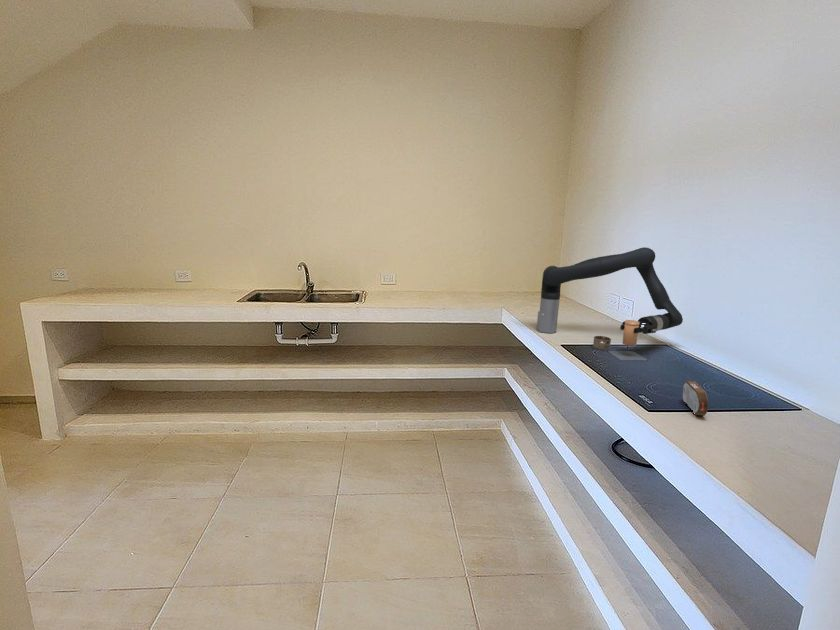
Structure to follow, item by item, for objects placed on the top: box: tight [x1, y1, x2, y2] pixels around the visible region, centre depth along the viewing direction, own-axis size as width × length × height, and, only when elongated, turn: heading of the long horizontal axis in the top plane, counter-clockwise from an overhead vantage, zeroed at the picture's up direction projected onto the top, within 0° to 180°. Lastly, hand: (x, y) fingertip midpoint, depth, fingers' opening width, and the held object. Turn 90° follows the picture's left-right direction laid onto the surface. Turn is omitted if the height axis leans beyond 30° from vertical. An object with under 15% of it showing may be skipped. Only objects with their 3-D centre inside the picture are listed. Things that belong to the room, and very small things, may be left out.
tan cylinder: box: [621, 319, 640, 347], centre depth 205 cm, size 6×6×10 cm
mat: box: [607, 350, 648, 362], centre depth 207 cm, size 12×12×1 cm
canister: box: [592, 335, 612, 352], centre depth 217 cm, size 7×7×5 cm
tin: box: [681, 380, 709, 417], centre depth 154 cm, size 15×3×8 cm, turn 170°
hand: (628, 329), depth 203 cm, fingers closed on tan cylinder, 5 cm apart
